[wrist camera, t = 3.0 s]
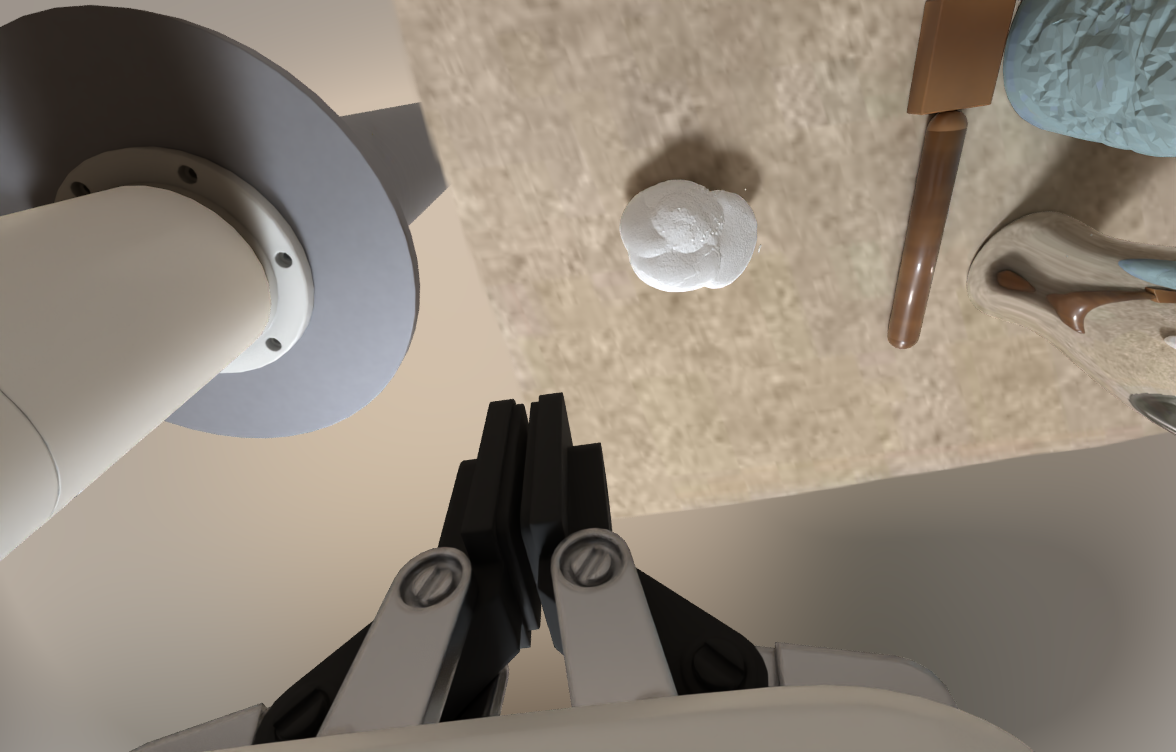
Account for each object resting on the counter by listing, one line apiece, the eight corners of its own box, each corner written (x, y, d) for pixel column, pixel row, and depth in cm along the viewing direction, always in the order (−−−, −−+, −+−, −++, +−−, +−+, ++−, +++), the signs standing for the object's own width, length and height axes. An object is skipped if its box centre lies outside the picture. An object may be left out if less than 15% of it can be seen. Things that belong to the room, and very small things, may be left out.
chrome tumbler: (1110, 254, 28) (1564, 402, 16) (996, 343, 31) (1304, 532, 18) (1051, 173, 26) (1531, 269, 13) (933, 277, 29) (1236, 442, 16)
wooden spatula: (919, 337, 31) (936, 349, 29) (866, 344, 31) (880, 357, 29) (999, -11, 22) (1028, -17, 21) (924, 1, 22) (949, -4, 21)
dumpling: (619, 278, 28) (612, 289, 24) (626, 177, 26) (620, 174, 23) (747, 286, 27) (761, 300, 24) (763, 184, 26) (781, 181, 22)
